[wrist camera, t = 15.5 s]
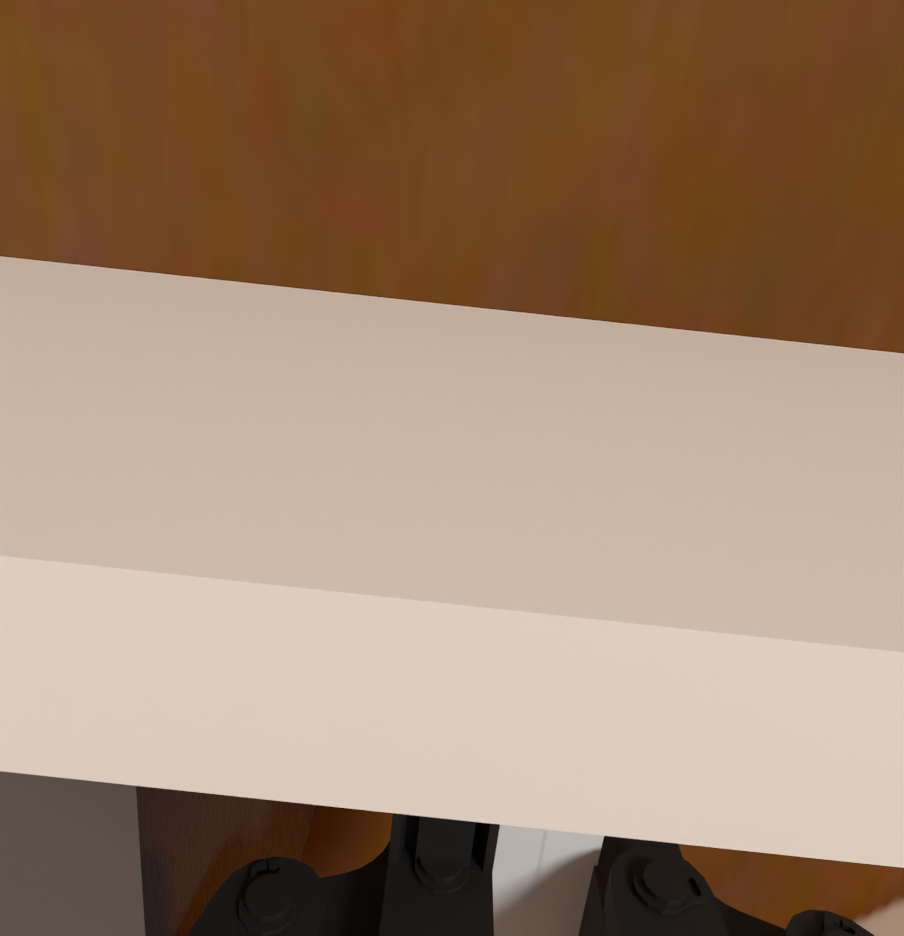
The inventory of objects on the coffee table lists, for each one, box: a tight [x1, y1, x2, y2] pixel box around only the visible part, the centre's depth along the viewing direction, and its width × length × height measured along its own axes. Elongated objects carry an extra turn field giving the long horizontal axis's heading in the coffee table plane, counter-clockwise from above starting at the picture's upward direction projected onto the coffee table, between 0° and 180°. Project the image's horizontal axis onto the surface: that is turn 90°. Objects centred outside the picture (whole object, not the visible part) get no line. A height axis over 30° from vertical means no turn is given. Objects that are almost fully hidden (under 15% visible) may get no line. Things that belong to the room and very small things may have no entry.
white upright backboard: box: [0, 256, 904, 868], centre depth 11 cm, size 32×12×12 cm, turn 84°
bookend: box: [0, 771, 316, 936], centre depth 12 cm, size 2×10×10 cm, turn 174°
